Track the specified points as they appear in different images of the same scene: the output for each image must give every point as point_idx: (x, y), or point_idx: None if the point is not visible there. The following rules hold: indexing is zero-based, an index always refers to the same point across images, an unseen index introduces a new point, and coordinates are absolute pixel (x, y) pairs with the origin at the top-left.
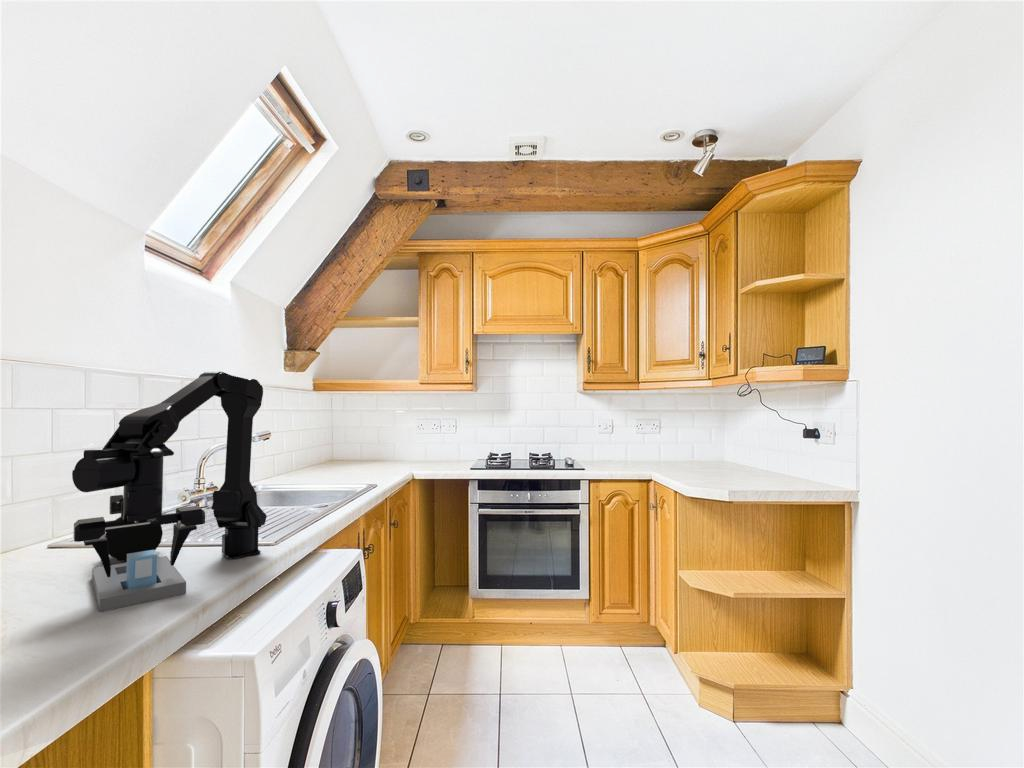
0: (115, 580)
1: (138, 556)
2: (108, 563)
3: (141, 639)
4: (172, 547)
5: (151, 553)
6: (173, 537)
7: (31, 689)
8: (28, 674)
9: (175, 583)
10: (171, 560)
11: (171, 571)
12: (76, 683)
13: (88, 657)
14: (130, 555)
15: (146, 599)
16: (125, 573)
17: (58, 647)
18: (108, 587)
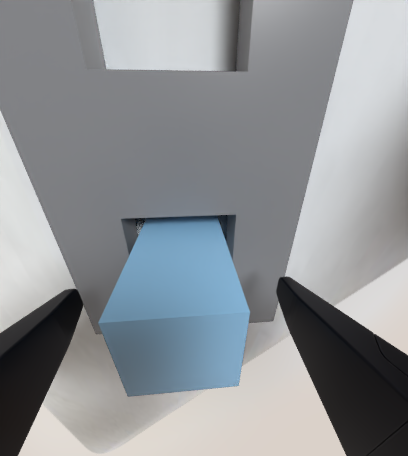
0: (100, 185)
1: (164, 384)
2: (45, 383)
3: (175, 404)
4: (327, 354)
5: (220, 369)
6: (397, 412)
7: (92, 437)
8: (78, 422)
9: (251, 320)
10: (284, 314)
11: (283, 203)
12: (126, 439)
13: (126, 415)
14: (125, 359)
15: None
16: (125, 82)
17: (85, 391)
18: (94, 258)
